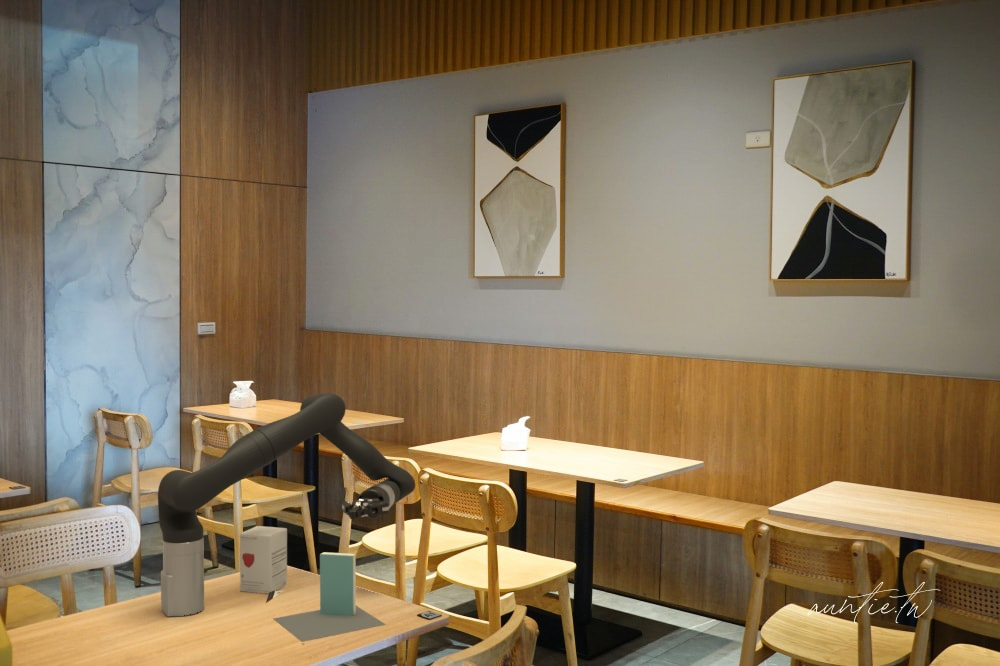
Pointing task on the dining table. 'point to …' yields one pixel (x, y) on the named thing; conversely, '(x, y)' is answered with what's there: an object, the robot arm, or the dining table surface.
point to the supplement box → (263, 559)
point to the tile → (337, 584)
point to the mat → (326, 624)
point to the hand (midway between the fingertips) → (353, 515)
